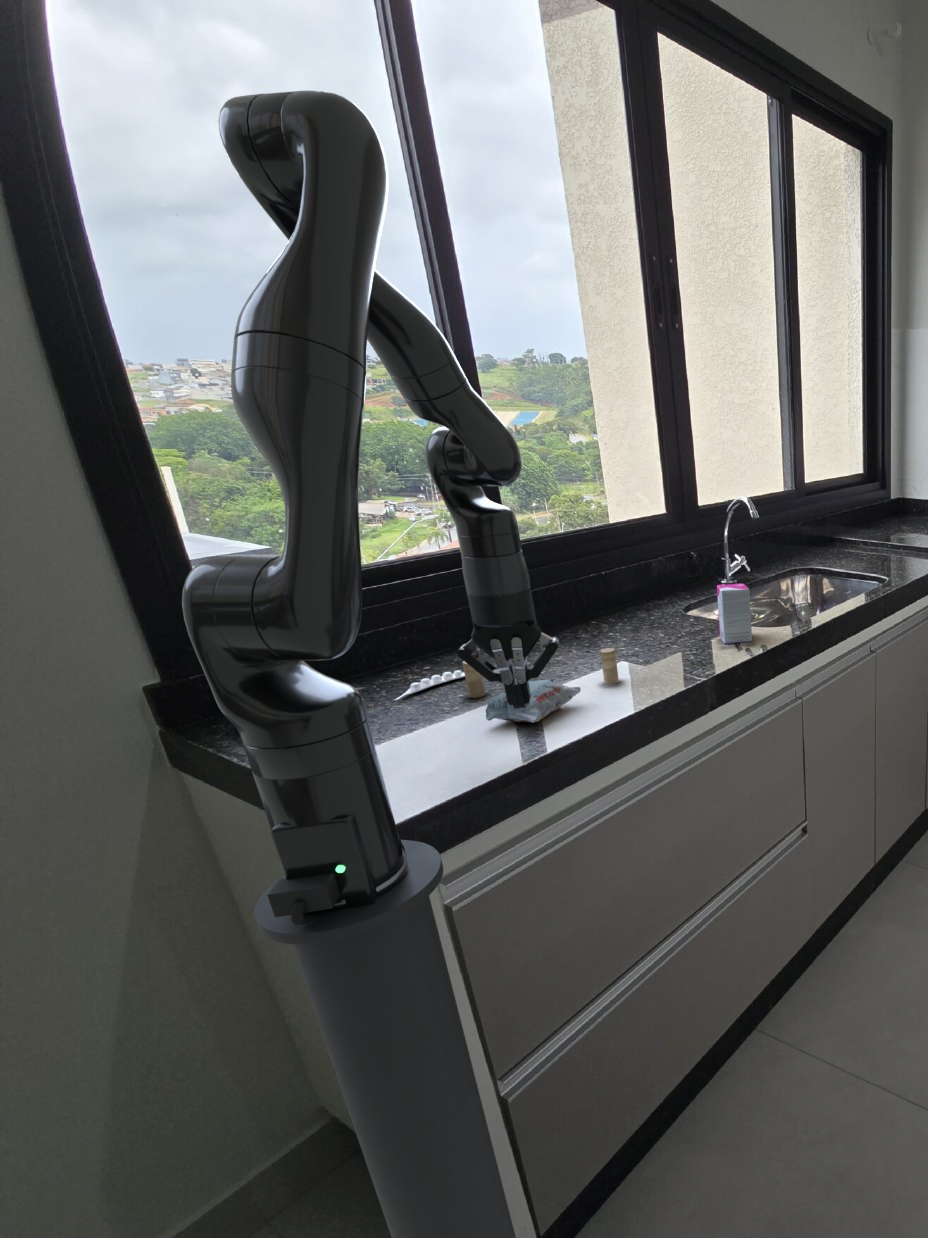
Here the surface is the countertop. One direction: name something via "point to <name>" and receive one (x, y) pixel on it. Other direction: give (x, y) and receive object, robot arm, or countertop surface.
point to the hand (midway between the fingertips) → (520, 706)
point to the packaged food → (532, 702)
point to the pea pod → (432, 682)
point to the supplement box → (734, 613)
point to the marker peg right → (609, 666)
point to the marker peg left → (473, 681)
